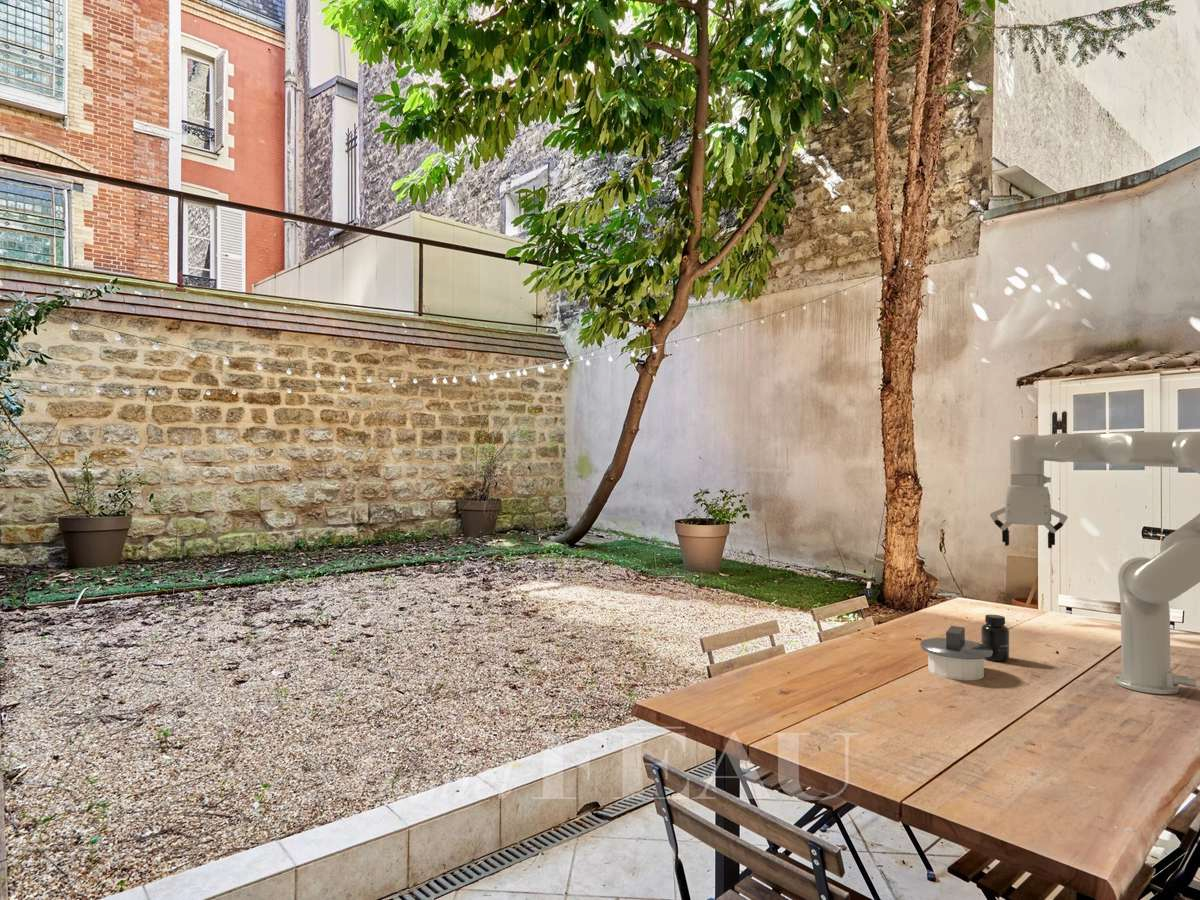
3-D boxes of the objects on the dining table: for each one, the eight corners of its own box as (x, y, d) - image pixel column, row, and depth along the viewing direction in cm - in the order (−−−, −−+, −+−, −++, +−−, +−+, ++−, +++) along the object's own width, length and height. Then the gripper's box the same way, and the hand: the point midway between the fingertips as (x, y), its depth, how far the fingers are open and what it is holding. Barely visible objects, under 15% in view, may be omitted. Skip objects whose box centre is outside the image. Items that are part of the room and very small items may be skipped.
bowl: (983, 669, 185) (983, 646, 185) (983, 683, 173) (983, 660, 173) (930, 662, 191) (930, 640, 191) (926, 676, 180) (926, 653, 180)
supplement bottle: (1007, 664, 188) (1007, 620, 188) (979, 659, 193) (979, 616, 193) (1011, 657, 194) (1010, 615, 194) (983, 653, 198) (982, 612, 198)
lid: (996, 647, 184) (996, 627, 184) (987, 663, 171) (987, 641, 171) (927, 637, 194) (927, 618, 194) (914, 652, 181) (913, 632, 181)
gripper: (1067, 481, 179) (1068, 547, 179) (991, 480, 189) (992, 542, 189) (1066, 482, 173) (1067, 550, 173) (987, 481, 183) (988, 545, 183)
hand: (1028, 546), depth 181 cm, fingers open, 9 cm apart
